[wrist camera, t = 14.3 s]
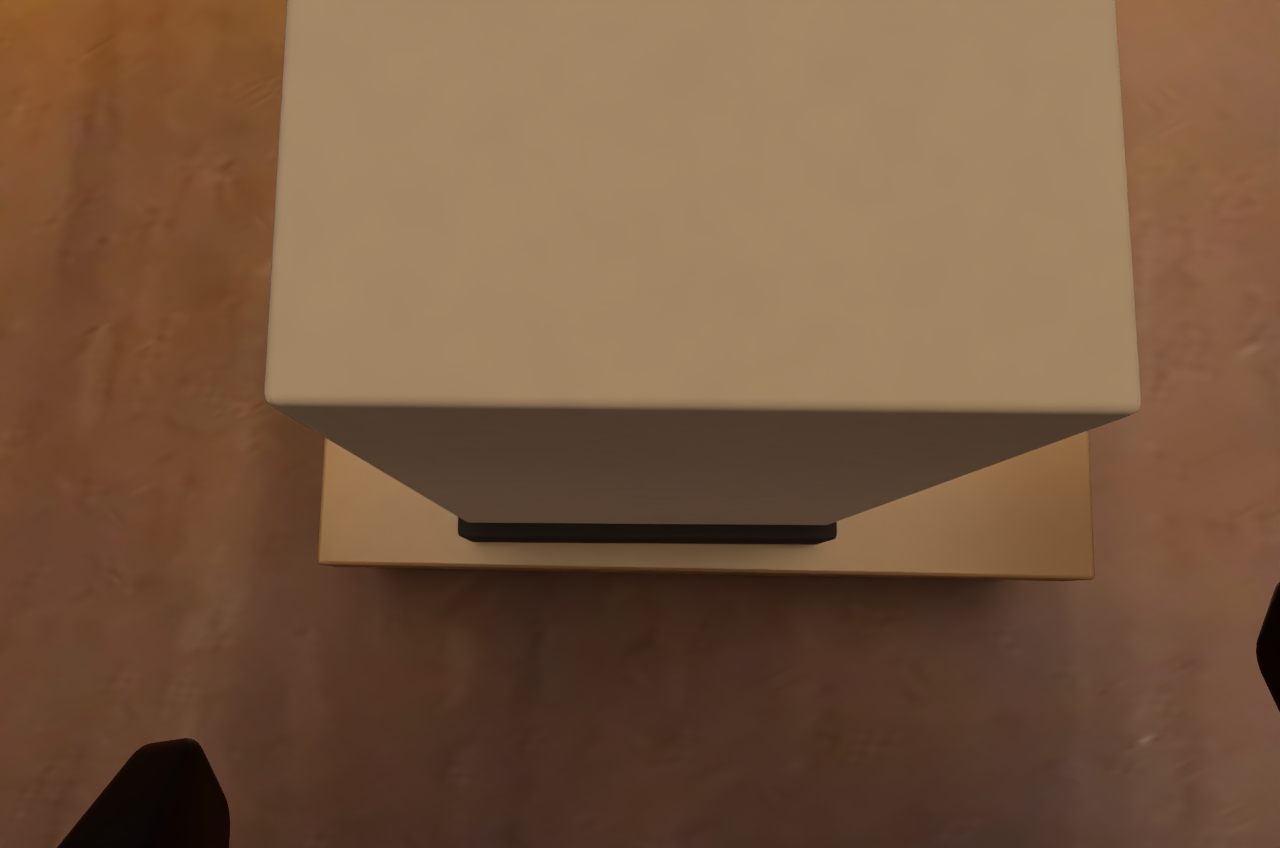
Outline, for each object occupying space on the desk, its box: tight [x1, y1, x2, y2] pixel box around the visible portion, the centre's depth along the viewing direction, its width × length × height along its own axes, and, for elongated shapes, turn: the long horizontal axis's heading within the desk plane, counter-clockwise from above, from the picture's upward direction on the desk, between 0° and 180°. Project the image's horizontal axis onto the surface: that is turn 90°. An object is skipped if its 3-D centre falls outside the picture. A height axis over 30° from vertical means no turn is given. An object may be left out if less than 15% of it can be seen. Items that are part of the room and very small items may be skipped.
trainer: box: [264, 0, 1141, 545], centre depth 13 cm, size 11×5×11 cm, turn 0°
